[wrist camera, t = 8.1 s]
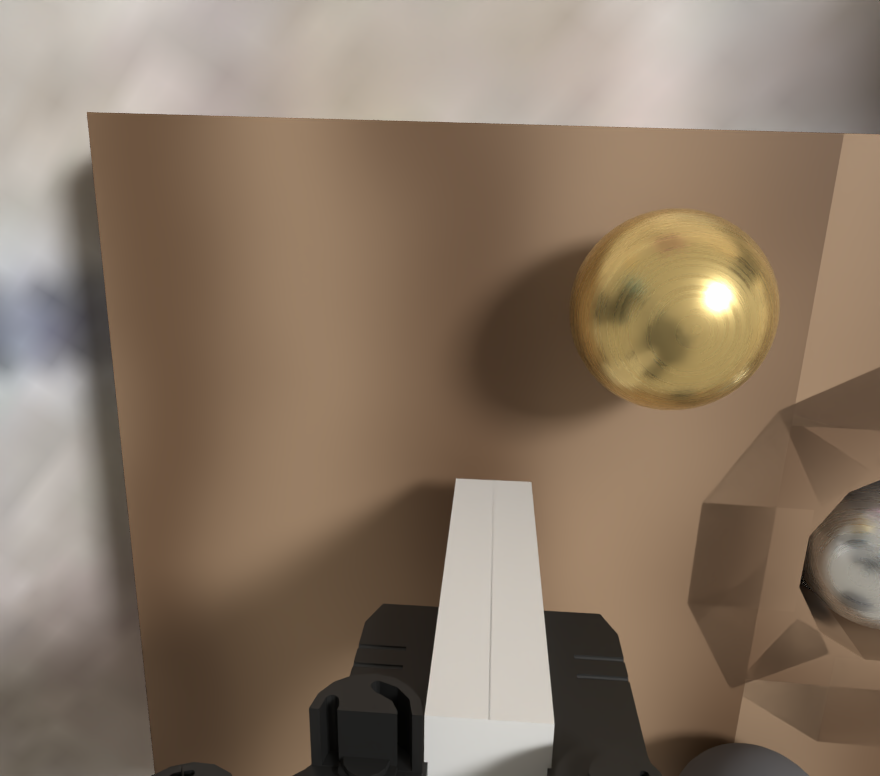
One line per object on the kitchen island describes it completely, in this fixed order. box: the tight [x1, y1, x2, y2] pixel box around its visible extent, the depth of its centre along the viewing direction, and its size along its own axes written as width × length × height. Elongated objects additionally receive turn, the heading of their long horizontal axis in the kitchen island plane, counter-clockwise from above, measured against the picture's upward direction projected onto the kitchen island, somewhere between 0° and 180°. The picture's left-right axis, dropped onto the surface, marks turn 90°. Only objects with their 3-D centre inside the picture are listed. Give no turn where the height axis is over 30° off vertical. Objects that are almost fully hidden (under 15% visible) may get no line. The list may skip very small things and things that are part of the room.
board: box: [87, 112, 880, 776], centre depth 17 cm, size 22×17×2 cm
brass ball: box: [569, 208, 780, 410], centre depth 13 cm, size 3×3×3 cm
